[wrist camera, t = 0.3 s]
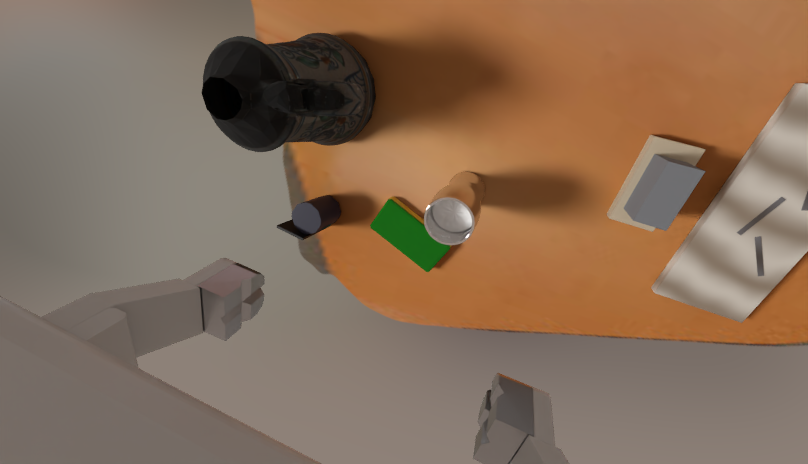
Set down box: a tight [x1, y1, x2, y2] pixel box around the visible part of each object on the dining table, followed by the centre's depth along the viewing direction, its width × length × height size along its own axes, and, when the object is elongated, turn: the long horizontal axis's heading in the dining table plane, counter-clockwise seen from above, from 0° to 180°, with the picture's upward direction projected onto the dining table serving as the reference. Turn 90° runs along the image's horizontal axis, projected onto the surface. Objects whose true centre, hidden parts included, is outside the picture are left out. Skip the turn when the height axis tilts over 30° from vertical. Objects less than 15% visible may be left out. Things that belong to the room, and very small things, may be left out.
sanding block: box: [607, 135, 706, 232], centre depth 44 cm, size 12×6×7 cm, turn 167°
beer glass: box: [424, 172, 485, 245], centre depth 49 cm, size 7×7×15 cm
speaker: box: [277, 195, 341, 240], centre depth 62 cm, size 8×6×10 cm
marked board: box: [651, 83, 808, 323], centre depth 44 cm, size 30×12×2 cm, turn 167°
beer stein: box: [202, 33, 376, 152], centre depth 45 cm, size 16×19×25 cm
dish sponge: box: [370, 197, 452, 272], centre depth 61 cm, size 7×14×2 cm, turn 55°
